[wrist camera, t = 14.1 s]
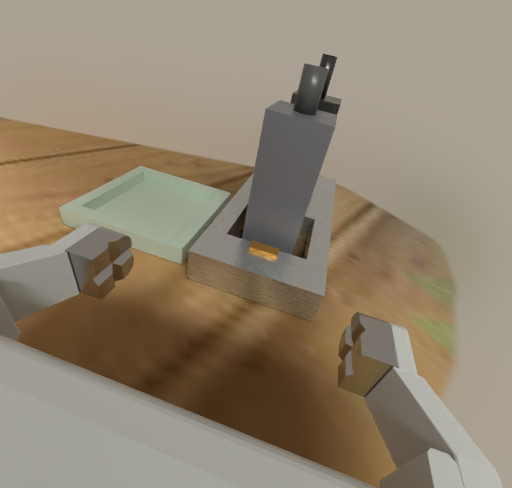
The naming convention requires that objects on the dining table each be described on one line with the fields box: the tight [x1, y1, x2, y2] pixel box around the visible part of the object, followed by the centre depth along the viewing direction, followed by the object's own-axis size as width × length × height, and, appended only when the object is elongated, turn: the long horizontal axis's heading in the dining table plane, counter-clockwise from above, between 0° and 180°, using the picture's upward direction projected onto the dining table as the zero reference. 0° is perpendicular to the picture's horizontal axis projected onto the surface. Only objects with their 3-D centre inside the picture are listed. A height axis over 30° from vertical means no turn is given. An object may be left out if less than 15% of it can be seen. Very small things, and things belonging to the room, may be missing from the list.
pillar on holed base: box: [187, 54, 341, 322], centre depth 22 cm, size 20×9×14 cm, turn 164°
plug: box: [242, 64, 337, 255], centre depth 19 cm, size 4×4×13 cm
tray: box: [59, 166, 231, 265], centre depth 24 cm, size 10×10×2 cm
